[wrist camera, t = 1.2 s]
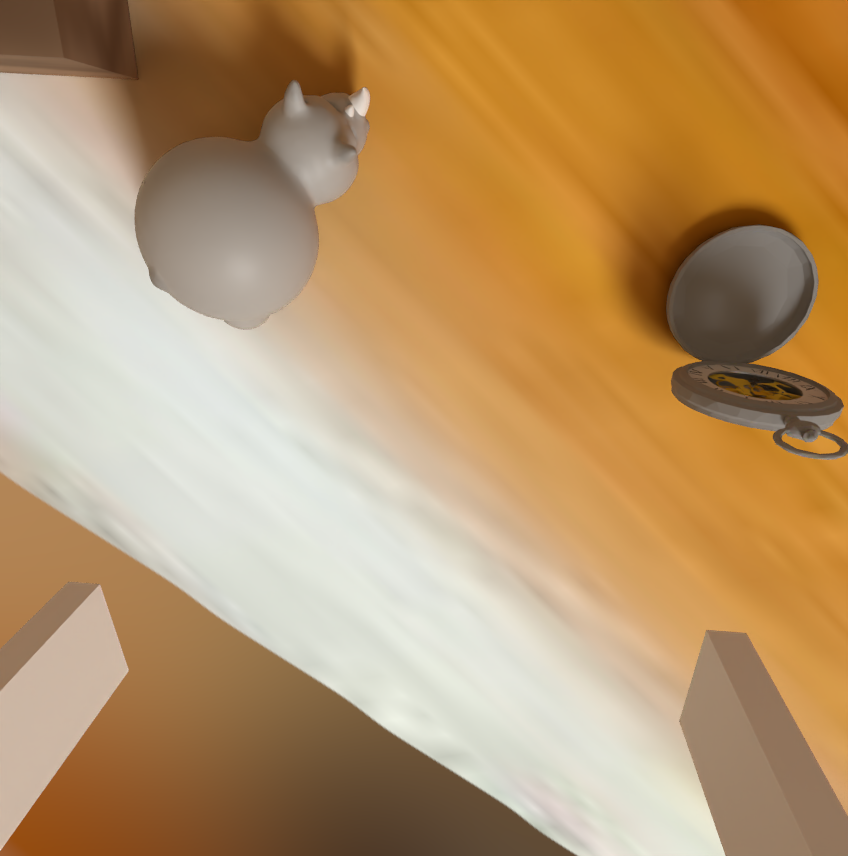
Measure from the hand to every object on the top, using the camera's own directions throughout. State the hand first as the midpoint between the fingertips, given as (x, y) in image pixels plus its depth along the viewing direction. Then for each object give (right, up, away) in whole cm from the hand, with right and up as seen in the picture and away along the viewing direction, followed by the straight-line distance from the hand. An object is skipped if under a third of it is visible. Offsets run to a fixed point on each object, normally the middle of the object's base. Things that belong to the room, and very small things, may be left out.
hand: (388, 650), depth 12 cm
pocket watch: (+16, +10, +15) cm, 24 cm away
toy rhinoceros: (-6, +16, +15) cm, 23 cm away
